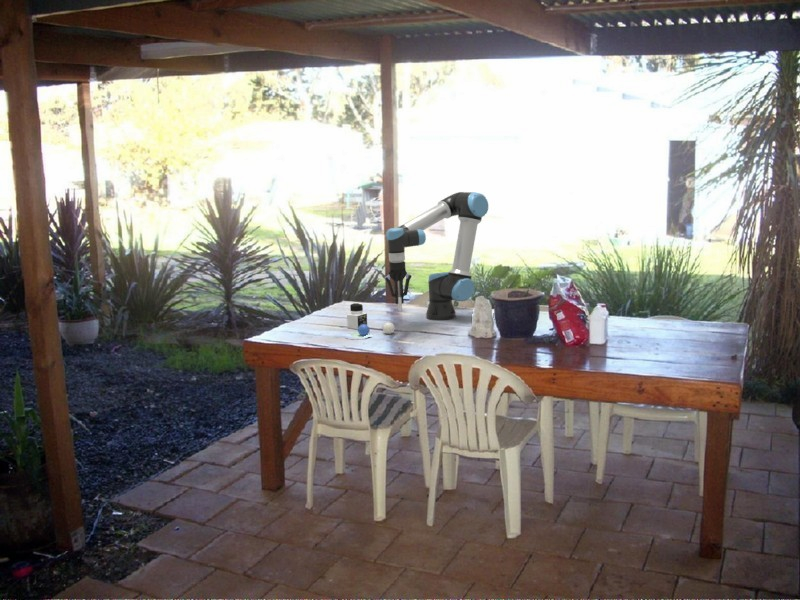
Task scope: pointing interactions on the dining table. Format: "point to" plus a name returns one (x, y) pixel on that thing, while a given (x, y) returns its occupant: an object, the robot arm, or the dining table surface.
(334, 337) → the dining table surface
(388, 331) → the cue ball
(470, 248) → the robot arm
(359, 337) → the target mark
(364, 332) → the object ball
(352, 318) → the medicine bottle
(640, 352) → the dining table surface
